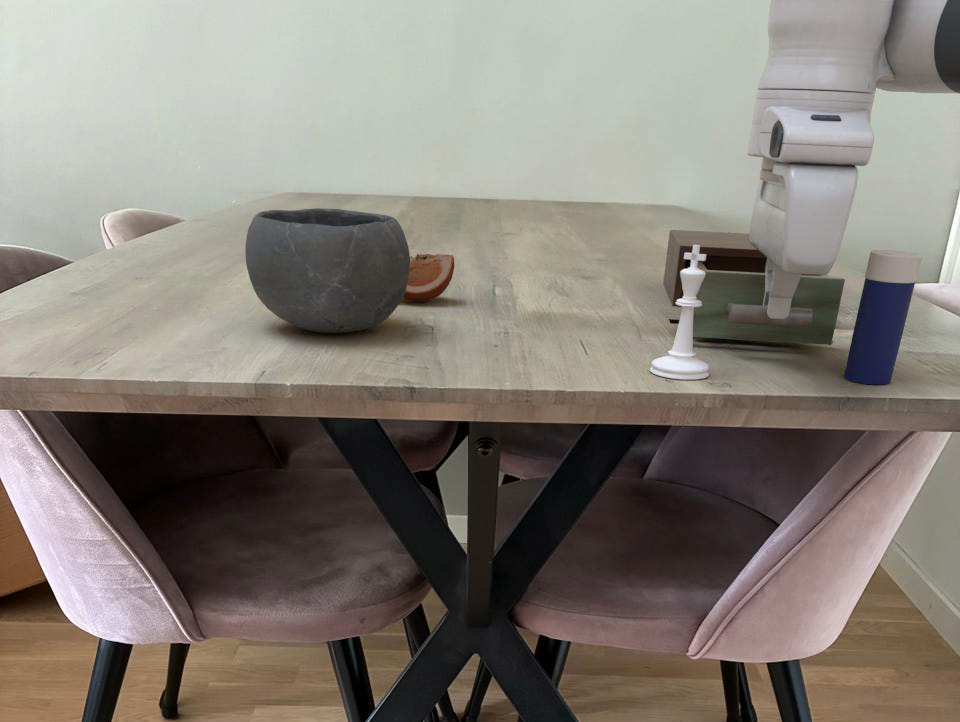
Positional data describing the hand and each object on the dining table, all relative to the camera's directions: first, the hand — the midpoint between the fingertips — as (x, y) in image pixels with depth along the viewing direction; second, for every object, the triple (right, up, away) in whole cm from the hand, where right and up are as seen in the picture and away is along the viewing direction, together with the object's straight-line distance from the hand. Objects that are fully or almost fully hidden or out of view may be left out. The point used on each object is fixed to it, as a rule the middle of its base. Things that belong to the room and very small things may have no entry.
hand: (774, 316), depth 82 cm
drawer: (+1, +2, +11) cm, 11 cm away
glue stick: (+7, -6, -1) cm, 10 cm away
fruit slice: (-33, +10, +24) cm, 41 cm away
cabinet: (+3, +8, +24) cm, 25 cm away
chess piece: (-9, -6, -2) cm, 11 cm away
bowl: (-39, +1, +8) cm, 40 cm away
